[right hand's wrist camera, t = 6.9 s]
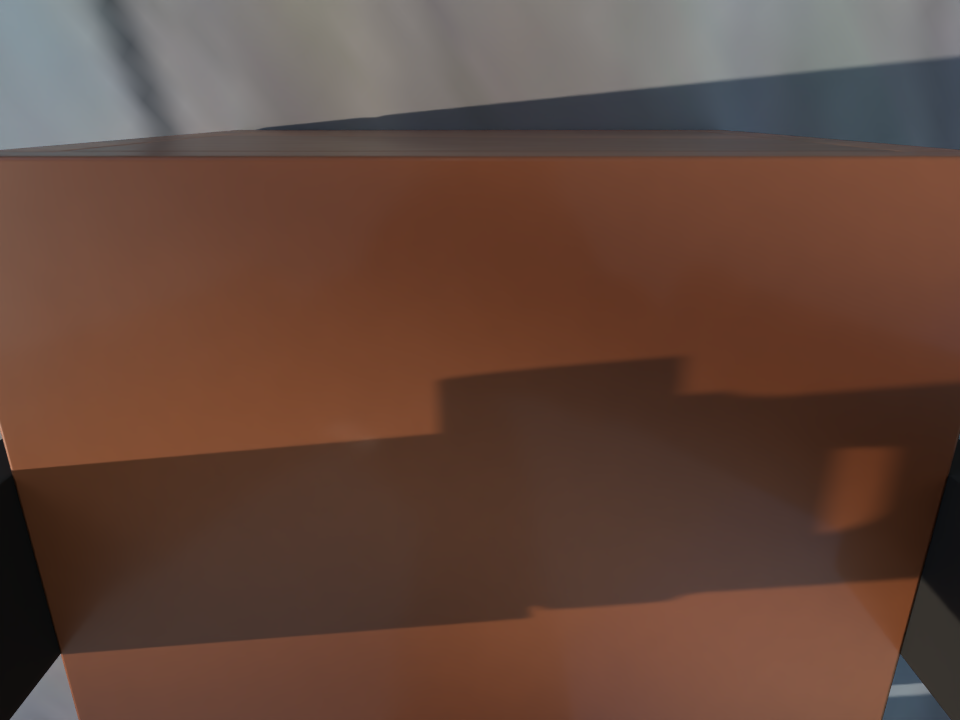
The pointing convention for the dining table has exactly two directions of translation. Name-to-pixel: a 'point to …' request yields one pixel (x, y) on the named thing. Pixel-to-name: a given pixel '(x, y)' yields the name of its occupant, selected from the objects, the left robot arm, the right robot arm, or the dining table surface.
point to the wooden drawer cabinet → (480, 419)
